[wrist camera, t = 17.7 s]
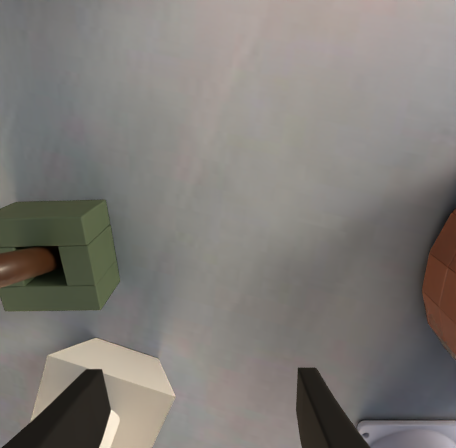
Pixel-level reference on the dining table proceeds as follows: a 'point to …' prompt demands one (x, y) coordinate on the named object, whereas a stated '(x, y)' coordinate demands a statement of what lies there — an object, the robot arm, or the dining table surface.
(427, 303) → the bowl
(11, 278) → the stick
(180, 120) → the dining table surface
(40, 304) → the holder
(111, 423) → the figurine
